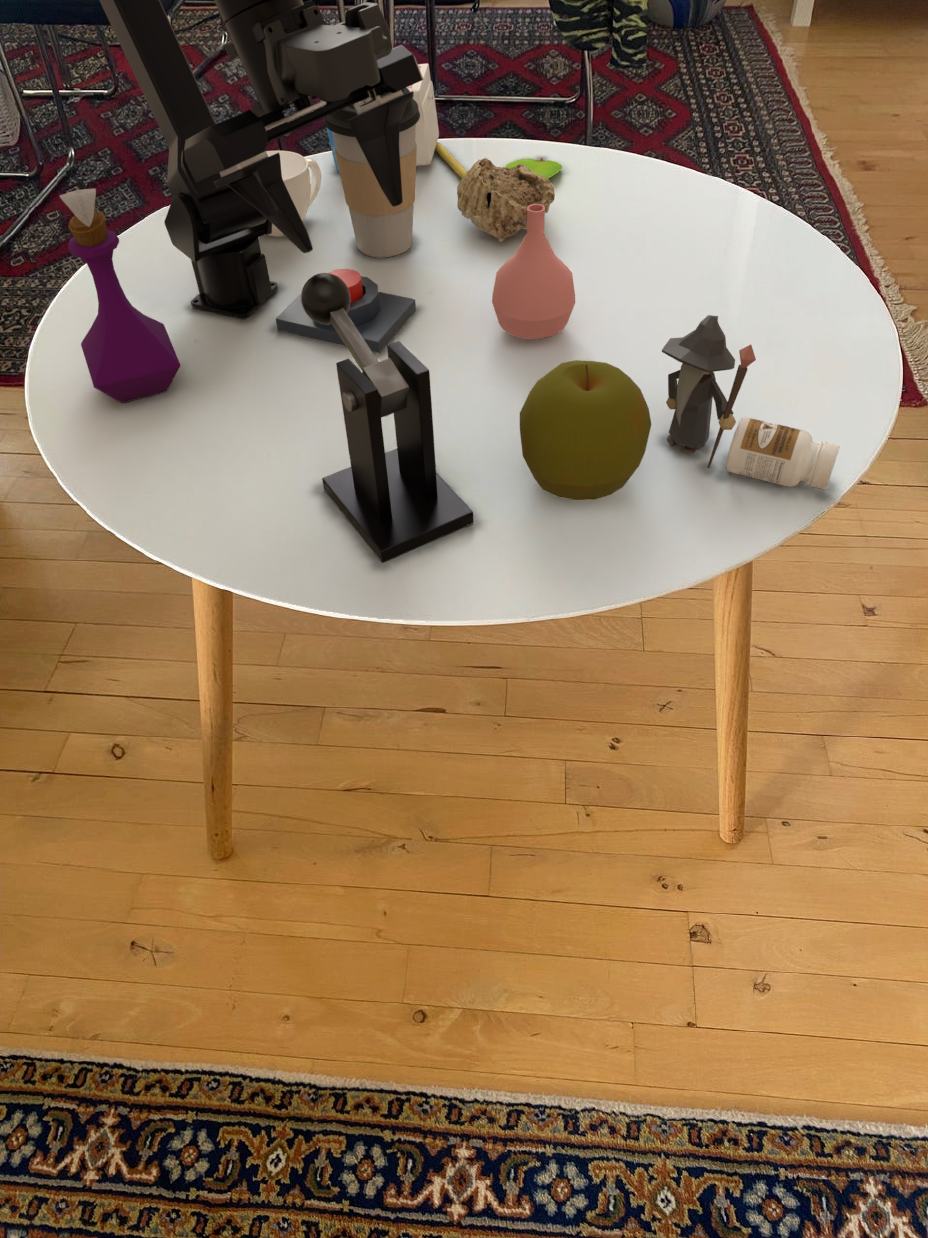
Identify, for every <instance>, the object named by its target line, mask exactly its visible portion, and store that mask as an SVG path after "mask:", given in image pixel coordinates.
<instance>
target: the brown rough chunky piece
mask: <svg viewBox="0 0 928 1238" xmlns="http://www.w3.org/2000/svg"><path fill="white" fill-rule="evenodd" d="M466 171H467V173H466V174H465V176H464V177H463V178H460V181H459V183H458V185H457V187H456V189H457V190H456V195H457V196H456V197H457V205H456V207H457V209H458V211H460V212H461V216H462V217H464V218H466V219H467V220H470V221H471V223H472V225H474V226H475V227H476V229H478V230H479V231H482V232H484V233H487V234H488V235H490V236H493V237H494V238H495V239H497V241H498V242H503V241H504V240H505V239H507V238H511V237H512V236H514V235H516V234H518V232H519V231H520V230H522V229H523V230H527V207H528V206H529V205H531V204H541V205H543V206H544V207H545V214H547V213H548V212H549V210H550V206H551V204H552V203H554V201H555V197H556V194H555V187H554V185H553V183H552V182H551V180H550V178H548V179H547V178H545V177H543V176H542V175H537V174H536V173H535V172H533V171H532V170H531V169H530V168H528V167H527V166H525V165H524V164H518V165H517V166H514V167H512V168H509V167H505V166H504V167H503V166H502V167H501V166H496V165H495V164H494V163H493V162H492V161H491V160H490V159H489V158H488V157H485V158H482V159H478V160H477V161H476V162H474V163H473V164H472V166H471V167H470V169H468V170H466Z"/></svg>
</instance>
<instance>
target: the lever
mask: <svg viewBox="0 0 928 1238" xmlns="http://www.w3.org/2000/svg"><path fill="white" fill-rule="evenodd" d="M300 295H301V302H302V306H303V309H304V311H305V312H306V314H307V315H308V316H309V317H310V318H311V319H312V320H313V321H315V322H317V323H320V324H325V325H329V324H332V326H333V327H334V329H335V330H336V332H337V333H338V335H339V336H340V338H341V339H342V341H343V342H344V344H345V345H344V346H345V347H346V349H347V350H348V351H349V353H350V355H351V356H352V358H353V360H354V361H355V363H356V364H357V366H358V367H359V369H360V371H361V372H362V373H363V374H364V375H365V376H366V377H367V378H368V379H369V381H370V382H371V383H372V384H373V385H374V386H375V387H376V388H377V389H378V395H379V404H380V413H381V419H382V418H384V417H387V416H389V415H392V414H394V413H395V412H398V411H400V410H403V409H405V408H406V407H407V399H408V391H409V386H408V384H407V383H406V381H405V380H404V378H403V377H402V375H401V374H400V372H399V371H398V369H397V368H396V366H395V365H394V363H393V362H392V360H391V359H390V358H388V357H387V358H385V359H383V360H381V361H379V359H378V358H377V357H376V356H375V354H374V352H373V351H371V349H370V348H369V346H368V345H367V343H366V342H365V340H364V339H363V337H362V336H361V334H360V333H359V331H358V330H357V328H356V327H355V325H354V324H353V322H352V321H351V319H350V318H349V316H348V315H347V313H348V311H349V308H350V303H351V296H350V292H349V289H348V287H347V285H346V284H345V282H344V281H343V280H342V279H341V278H339V277H338V276H336V275H333V274H330V273H329V272H320V273H317V274H314V275H312V276H311V277H310V278H309V279H307V281H305V283H304V285H303V287H302V290H301V294H300Z"/></svg>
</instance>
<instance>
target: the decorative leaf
mask: <svg viewBox="0 0 928 1238" xmlns="http://www.w3.org/2000/svg"><path fill="white" fill-rule="evenodd" d="M518 164H524V165H525V166H527V167H528V168H530V169H531V170H532V171H533V172H535V173H536V174H537V175H542V176H543V177H545V178H547V179H550V178H552V177H553V176H554V175H556V174H558V173H560V172H561V171H562V169H563V165H562V164H561V163H559V162H557V161H555V160H550V159H549V160H548V159H547V160H544V159H543V157H541V158H540V159H534V158H523V159H517V160H514V161H510V162H509V163H507V164H506V165H505V166H504V167H509V168H512V167H514V166H517V165H518Z"/></svg>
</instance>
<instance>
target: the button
mask: <svg viewBox="0 0 928 1238" xmlns="http://www.w3.org/2000/svg"><path fill="white" fill-rule="evenodd" d="M328 273H330V274H333V275H336V276H338V277H339V278H341V279H342V280H343V281H344V282H345V284H346V285H347V287H348V289H349V292H350V296H351V303H352V302H354V301H357V300H359V299H361V298H362V296H363V288H362V279H361V276H362V275H361V274H360V273H359V272H358V271H357V270H354V269H350V268H338V269H334V270H332V271H329V272H328Z"/></svg>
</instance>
